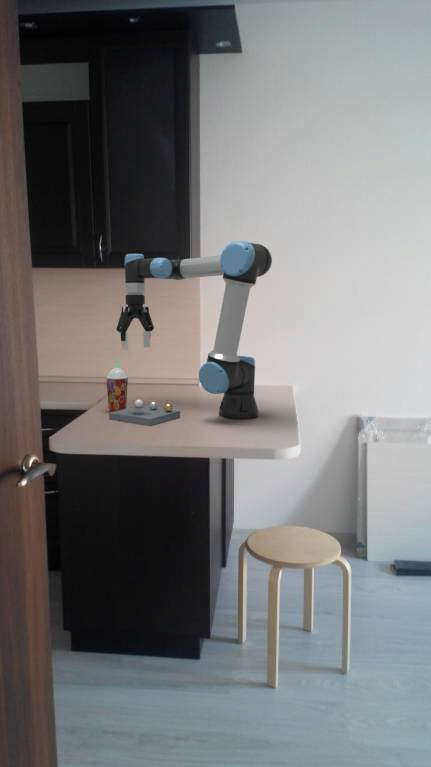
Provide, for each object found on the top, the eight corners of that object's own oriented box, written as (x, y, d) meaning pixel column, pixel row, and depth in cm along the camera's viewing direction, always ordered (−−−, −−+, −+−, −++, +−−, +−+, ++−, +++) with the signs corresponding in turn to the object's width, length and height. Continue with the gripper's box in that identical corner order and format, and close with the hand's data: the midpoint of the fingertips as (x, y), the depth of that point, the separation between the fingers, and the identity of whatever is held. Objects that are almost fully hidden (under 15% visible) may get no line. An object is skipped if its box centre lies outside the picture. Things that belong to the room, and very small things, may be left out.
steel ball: (159, 409, 222) (159, 401, 222) (154, 410, 220) (154, 402, 219) (152, 408, 224) (152, 400, 223) (147, 409, 221) (147, 401, 221)
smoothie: (131, 410, 233) (131, 360, 230) (122, 414, 225) (122, 362, 222) (112, 408, 235) (111, 359, 232) (102, 412, 227) (102, 361, 224)
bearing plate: (180, 417, 221) (180, 411, 220) (150, 426, 205) (150, 419, 205) (140, 411, 230) (140, 405, 230) (109, 419, 215) (109, 412, 215)
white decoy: (144, 407, 226) (144, 399, 225) (139, 408, 223) (139, 400, 223) (138, 406, 228) (138, 398, 227) (133, 407, 225) (133, 399, 224)
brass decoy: (174, 411, 219) (174, 403, 218) (169, 413, 216) (169, 404, 215) (167, 410, 220) (167, 402, 220) (162, 412, 218) (162, 403, 217)
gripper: (147, 294, 243) (148, 346, 246) (106, 294, 222) (107, 350, 225) (161, 294, 239) (162, 346, 242) (121, 293, 218) (122, 350, 221)
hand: (136, 348), depth 233 cm, fingers open, 13 cm apart
